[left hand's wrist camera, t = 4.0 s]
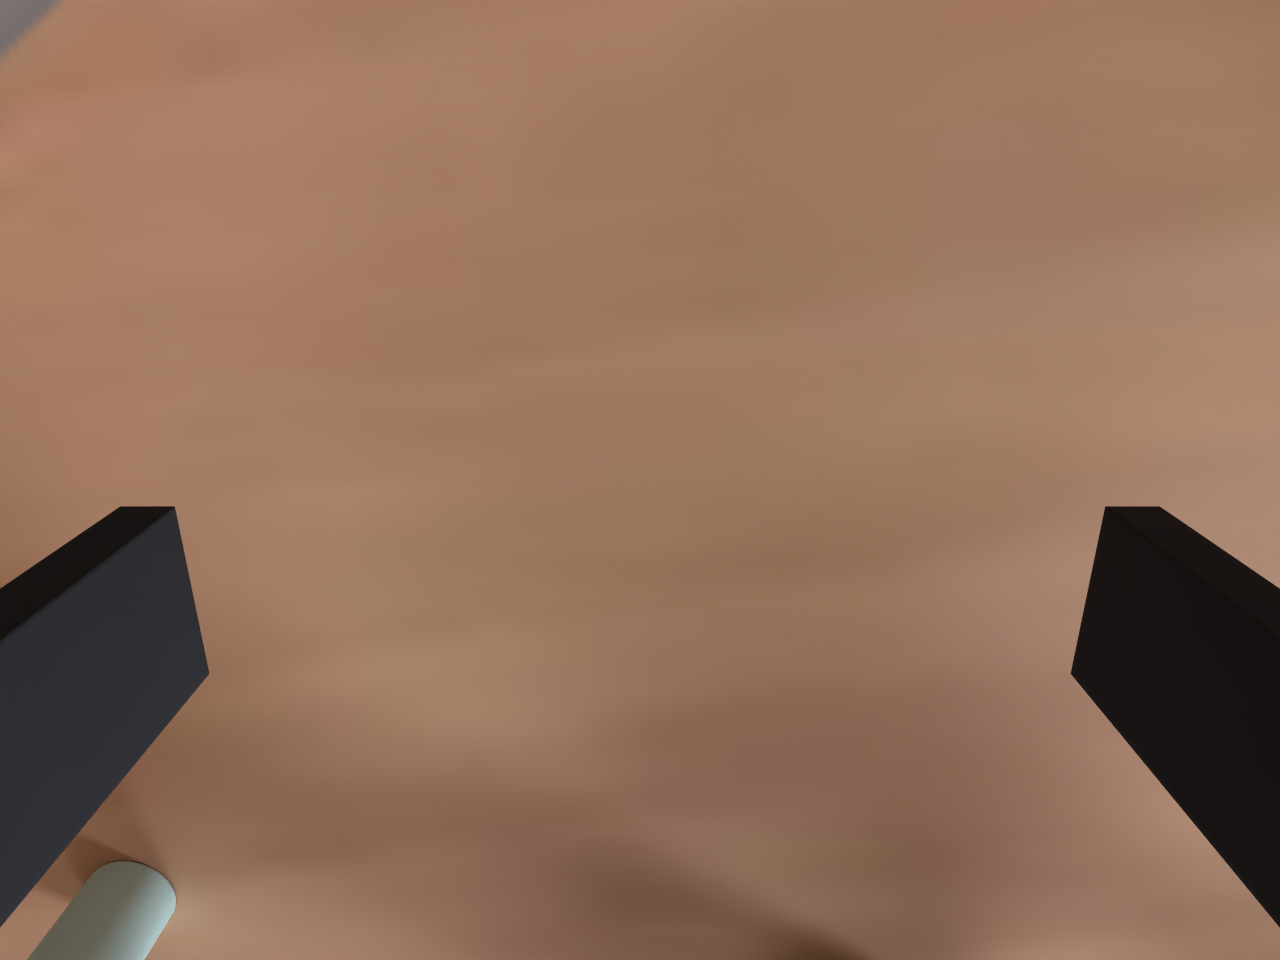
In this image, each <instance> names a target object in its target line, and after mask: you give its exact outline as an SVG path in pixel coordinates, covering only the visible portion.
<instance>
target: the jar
mask: <svg viewBox="0 0 1280 960" xmlns="http://www.w3.org/2000/svg"><path fill="white" fill-rule="evenodd" d="M175 906H176V896H175V892H174V890H173V888H172V886H171V884H170V883H169V882H168V880H167V879H166V878H165V877H164V876H162V875H161V874H160V873H159V872H157V871H156V870H154V869H152V868H150V867H148V866H146V865H143V864H140V863H135V862H129V861H118V862H112V863H108V864H105V865H103V866H101V867H99V868H98V869H97V870H95V871H94V872H93V874H92V875H91V876H90V877H89V879H88V880H87V881H86V883H85V884H84V885H83V887H82V888H81V889H80V891H79V892H78V893H77V895H76V896H75V897H74V899H73V900H72V901H71V903H70V904H69V905H68V907H67V908H66V909H65V910H64V912H63V913H62V914H61V916H60V917H59V918H58V920H57V921H56V922H55V924H54V925H53V926H52V928H51V929H50V930H49V932H48V933H47V934H46V936H45V937H44V938H43V940H42V941H41V942H40V943H39V945H38V946H37V947H36V949H35V950H34V951H33V953H32V954H31V955H30V957H29V958H28V959H27V960H144V959H145V958H146V956H147V954H148V953H149V951H150V949H151V948H152V946H153V945H154V943H155V941H156V940H157V938H158V936H159V935H160V933H161V931H162V930H163V928H164V927H165V925H166V923H167V922H168V920H169V918H170V917H171V915H172V913H173V912H174V909H175Z"/></svg>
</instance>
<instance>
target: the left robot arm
mask: <svg viewBox="0 0 1280 960" xmlns="http://www.w3.org/2000/svg"><path fill="white" fill-rule="evenodd" d="M208 675H209V670H208V665H207V661H206V656H205V651H204V646H203V641H202V636H201V631H200V627H199V622H198V617H197V612H196V607H195V602H194V598H193V593H192V588H191V583H190V578H189V573H188V569H187V564H186V559H185V554H184V549H183V544H182V540H181V535H180V530H179V525H178V520H177V515H176V511H175V507H119V508H117V509H116V510H115V511H113V512H112V513H110V514H109V515H107V516H106V517H104V518H103V519H101V520H100V521H98V522H97V523H96V524H94V525H93V526H91V527H90V528H88V529H87V530H85V531H84V532H82V533H81V534H79V535H78V536H77V537H75V538H74V539H72V540H71V541H69V542H68V543H66V544H65V545H63V546H62V547H60V548H59V549H58V550H56V551H55V552H53V553H52V554H50V555H49V556H47V557H46V558H44V559H43V560H41V561H40V562H39V563H37V564H36V565H34V566H33V567H31V568H30V569H28V570H27V571H25V572H24V573H22V574H21V575H20V576H18V577H17V578H15V579H14V580H12V581H11V582H9V583H8V584H6V585H5V586H3V587H2V588H1V589H0V927H1V926H2V925H3V923H4V922H5V921H6V920H7V919H8V917H9V916H10V915H11V914H12V912H13V911H14V910H15V909H16V908H17V906H18V905H19V904H20V903H21V902H22V900H23V899H24V898H25V897H26V895H27V894H28V893H29V892H30V891H31V889H32V888H33V887H34V886H35V885H36V883H37V882H38V881H39V880H40V878H41V877H42V876H43V875H44V874H45V872H46V871H47V870H48V869H49V868H50V866H51V865H52V864H53V863H54V861H55V860H56V859H57V858H58V857H59V855H60V854H61V853H62V852H63V851H64V849H65V848H66V847H67V846H68V845H69V843H70V842H71V841H72V840H73V838H74V837H75V836H76V835H77V834H78V832H79V831H80V830H81V829H82V828H83V826H84V825H85V824H86V823H87V821H88V820H89V819H90V818H91V817H92V815H93V814H94V813H95V812H96V811H97V809H98V808H99V807H100V806H101V804H102V803H103V802H104V801H105V800H106V798H107V797H108V796H109V795H110V794H111V792H112V791H113V790H114V789H115V787H116V786H117V785H118V784H119V783H120V781H121V780H122V779H123V778H124V777H125V775H126V774H127V773H128V772H129V770H130V769H131V768H132V767H133V766H134V764H135V763H136V762H137V761H138V760H139V758H140V757H141V756H142V755H143V753H144V752H145V751H146V750H147V749H148V747H149V746H150V745H151V744H152V743H153V741H154V740H155V739H156V738H157V737H158V735H159V734H160V733H161V732H162V730H163V729H164V728H165V727H166V726H167V724H168V723H169V722H170V721H171V720H172V718H173V717H174V716H175V715H176V713H177V712H178V711H179V710H180V709H181V707H182V706H183V705H184V704H185V703H186V701H187V700H188V699H189V698H190V696H191V695H192V694H193V693H194V692H195V690H196V689H197V688H198V687H199V686H200V684H201V683H202V682H203V681H204V679H205V678H206V677H207V676H208ZM1071 675H1072V676H1073V677H1074V678H1075V679H1076V681H1077V682H1078V683H1079V684H1080V686H1081V687H1082V688H1083V689H1084V690H1085V692H1086V693H1087V694H1088V695H1089V696H1090V698H1091V699H1092V700H1093V701H1094V703H1095V704H1096V705H1097V706H1098V707H1099V709H1100V710H1101V711H1102V712H1103V713H1104V715H1105V716H1106V717H1107V718H1108V720H1109V721H1110V722H1111V723H1112V724H1113V726H1114V727H1115V728H1116V729H1117V730H1118V732H1119V733H1120V734H1121V735H1122V737H1123V738H1124V739H1125V740H1126V741H1127V743H1128V744H1129V745H1130V746H1131V747H1132V749H1133V750H1134V751H1135V752H1136V753H1137V755H1138V756H1139V757H1140V758H1141V760H1142V761H1143V762H1144V763H1145V764H1146V766H1147V767H1148V768H1149V769H1150V770H1151V772H1152V773H1153V774H1154V775H1155V777H1156V778H1157V779H1158V780H1159V781H1160V783H1161V784H1162V785H1163V786H1164V787H1165V789H1166V790H1167V791H1168V792H1169V794H1170V795H1171V796H1172V797H1173V798H1174V800H1175V801H1176V802H1177V803H1178V804H1179V806H1180V807H1181V808H1182V809H1183V811H1184V812H1185V813H1186V814H1187V815H1188V817H1189V818H1190V819H1191V820H1192V821H1193V823H1194V824H1195V825H1196V826H1197V828H1198V829H1199V830H1200V831H1201V832H1202V834H1203V835H1204V836H1205V837H1206V838H1207V840H1208V841H1209V842H1210V843H1211V845H1212V846H1213V847H1214V848H1215V849H1216V851H1217V852H1218V853H1219V854H1220V855H1221V857H1222V858H1223V859H1224V860H1225V861H1226V863H1227V864H1228V865H1229V866H1230V868H1231V869H1232V870H1233V871H1234V872H1235V874H1236V875H1237V876H1238V877H1239V878H1240V880H1241V881H1242V882H1243V883H1244V885H1245V886H1246V887H1247V888H1248V889H1249V891H1250V892H1251V893H1252V894H1253V895H1254V897H1255V898H1256V899H1257V900H1258V902H1259V903H1260V904H1261V905H1262V906H1263V908H1264V909H1265V910H1266V911H1267V912H1268V914H1269V915H1270V916H1271V917H1272V919H1273V920H1274V921H1275V922H1276V923H1277V925H1278V926H1279V927H1280V589H1279V588H1278V587H1277V586H1275V585H1274V584H1272V583H1271V582H1269V581H1268V580H1266V579H1265V578H1263V577H1262V576H1260V575H1259V574H1258V573H1256V572H1255V571H1253V570H1252V569H1250V568H1249V567H1247V566H1246V565H1244V564H1243V563H1241V562H1240V561H1239V560H1237V559H1236V558H1234V557H1233V556H1231V555H1230V554H1228V553H1227V552H1225V551H1224V550H1222V549H1221V548H1220V547H1218V546H1217V545H1215V544H1214V543H1212V542H1211V541H1209V540H1208V539H1206V538H1205V537H1203V536H1202V535H1201V534H1199V533H1198V532H1196V531H1195V530H1193V529H1192V528H1190V527H1189V526H1187V525H1186V524H1184V523H1183V522H1182V521H1180V520H1179V519H1177V518H1176V517H1174V516H1173V515H1171V514H1170V513H1168V512H1167V511H1165V510H1164V509H1163V508H1161V507H1105V511H1104V515H1103V520H1102V525H1101V530H1100V535H1099V540H1098V544H1097V549H1096V554H1095V559H1094V564H1093V569H1092V573H1091V578H1090V583H1089V588H1088V593H1087V598H1086V602H1085V607H1084V612H1083V617H1082V622H1081V627H1080V631H1079V636H1078V641H1077V646H1076V651H1075V656H1074V661H1073V665H1072V670H1071Z"/></svg>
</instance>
